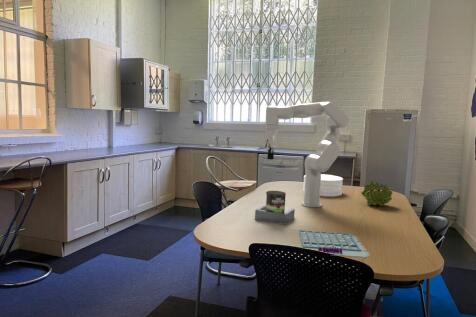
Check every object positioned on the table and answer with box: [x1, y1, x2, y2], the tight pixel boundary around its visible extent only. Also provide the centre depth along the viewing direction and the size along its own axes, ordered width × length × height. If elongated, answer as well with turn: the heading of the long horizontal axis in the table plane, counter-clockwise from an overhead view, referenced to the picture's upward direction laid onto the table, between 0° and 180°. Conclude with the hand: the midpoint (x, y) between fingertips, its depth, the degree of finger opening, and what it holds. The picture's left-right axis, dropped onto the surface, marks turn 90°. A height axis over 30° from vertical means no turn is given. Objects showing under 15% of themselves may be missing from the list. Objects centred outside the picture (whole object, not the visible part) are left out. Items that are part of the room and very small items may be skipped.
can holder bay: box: [254, 204, 296, 225], centre depth 192 cm, size 14×17×5 cm
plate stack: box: [302, 173, 344, 197], centre depth 267 cm, size 28×28×12 cm
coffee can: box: [265, 190, 287, 214], centre depth 192 cm, size 10×10×14 cm
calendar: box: [298, 229, 373, 259], centre depth 157 cm, size 27×28×2 cm
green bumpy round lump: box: [360, 180, 393, 207], centre depth 231 cm, size 18×16×16 cm
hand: (270, 159), depth 212 cm, fingers closed
